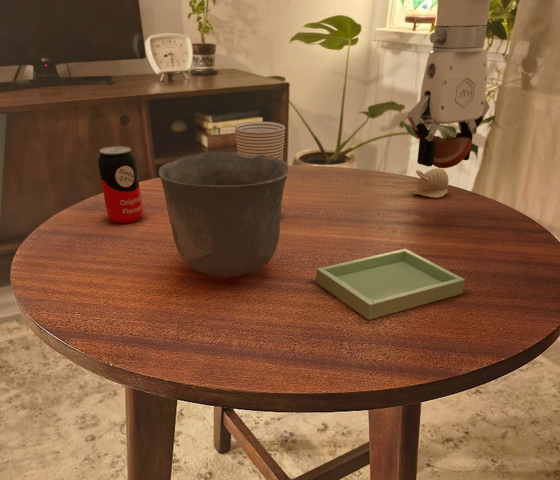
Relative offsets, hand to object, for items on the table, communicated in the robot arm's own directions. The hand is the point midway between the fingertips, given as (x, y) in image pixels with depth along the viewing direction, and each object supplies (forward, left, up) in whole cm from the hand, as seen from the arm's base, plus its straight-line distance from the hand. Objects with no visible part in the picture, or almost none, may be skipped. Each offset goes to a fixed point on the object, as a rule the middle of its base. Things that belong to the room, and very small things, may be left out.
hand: (443, 161), depth 95 cm
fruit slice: (0, 0, -1) cm, 1 cm away
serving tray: (+24, +18, -10) cm, 32 cm away
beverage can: (+48, -28, -11) cm, 57 cm away
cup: (+26, -17, -11) cm, 33 cm away
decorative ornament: (-10, -13, -11) cm, 19 cm away
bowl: (+41, +3, -11) cm, 43 cm away
